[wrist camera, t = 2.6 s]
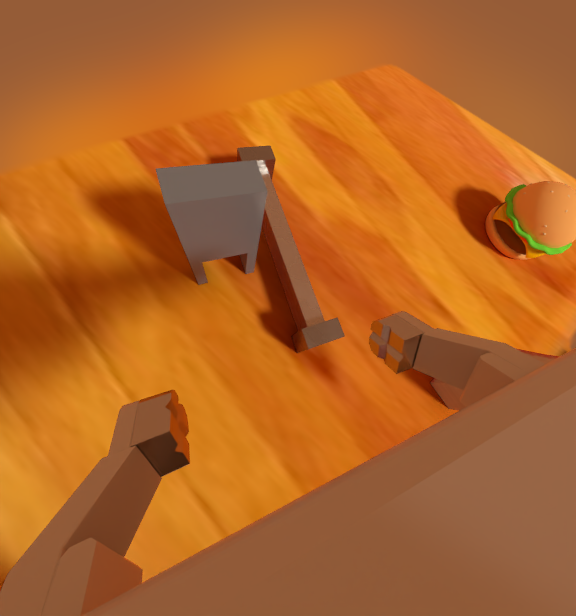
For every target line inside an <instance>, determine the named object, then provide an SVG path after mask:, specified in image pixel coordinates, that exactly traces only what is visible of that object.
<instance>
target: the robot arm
mask: <svg viewBox="0 0 576 616" xmlns="http://www.w3.org/2000/svg"><path fill="white" fill-rule="evenodd" d="M371 330H372V331H373V333H372V334H371V336H370V337H369V345H370V348H371V350H372V351H373V353H374V354H375V355H376V356H377V357H380V358H383V359H384V361H385V364H386V365H387V366H388V367H389V368H390V369H392V370H393V371H394V372H395V373H396V374H398V373H400V372H403V371H405V370H408V369H410V368H413V369H415V370H417V371H419V372H422V373H424V374H426V375H429V376H431V377H433V378H435V379H438V380H440V381H442V382H445V383H447V384H449V385H452V386H454V387H456V388H459V389H461V390H463V393H462V395H461V397H460V402H461V403H462V404H463V405H465V406H466V408H464V409H462V410H460V411H458V412H456V413H455V414H453V415H451V416H449V417H447V418H445V419H444V420H442V421H440V422H438V423H436V424H434V425H432V426H431V427H429V428H427V429H425V430H423V431H421V432H420V433H418V434H416V435H414V436H412V437H410V438H408V439H407V440H405V441H403V442H401V443H399V444H397V445H396V446H394V447H392V448H390V449H388V450H386V451H385V452H383V453H381V454H379V455H377V456H375V457H373V458H372V459H370V460H368V461H366V462H364V463H362V464H361V465H359V466H357V467H355V468H353V469H351V470H349V471H348V472H346V473H344V474H342V475H340V476H338V477H337V478H335V479H333V480H331V481H329V482H327V483H325V484H324V485H322V486H320V487H318V488H316V489H314V490H313V491H311V492H309V493H307V494H305V495H303V496H301V497H300V498H298V499H296V500H294V501H292V502H290V503H289V504H287V505H285V506H283V507H281V508H279V509H277V510H276V511H274V512H272V513H270V514H268V515H266V516H265V517H263V518H261V519H259V520H257V521H255V522H254V523H252V524H250V525H248V526H246V527H244V528H242V529H241V530H239V531H237V532H235V533H233V534H231V535H230V536H228V537H226V538H224V539H222V540H220V541H219V542H217V543H215V544H213V545H211V546H209V547H207V548H206V549H204V550H202V551H200V552H198V553H196V554H195V555H193V556H191V557H189V558H187V559H185V560H183V561H182V562H180V563H178V564H176V565H174V566H172V567H171V568H169V569H167V570H165V571H163V572H161V573H160V574H158V575H156V576H154V577H152V578H150V579H148V580H147V581H145V582H143V583H142V571H143V570H142V569H141V568H140V567H139V566H138V565H136V564H134V563H133V562H131V561H129V560H128V559H126V558H124V556H125V554H126V552H127V550H128V548H129V546H130V544H131V542H132V539H133V537H134V535H135V533H136V531H137V529H138V527H139V525H140V523H141V521H142V519H143V516H144V514H145V512H146V510H147V508H148V506H149V504H150V502H151V500H152V498H153V496H154V494H155V491H156V489H157V487H158V485H159V483H160V481H161V479H162V478H161V477H162V476H164V475H166V474H168V473H171V472H173V471H175V470H177V469H179V468H181V467H184V466H186V465H188V464H190V456H189V443H188V441H187V439H186V435H187V434H188V432H189V428H188V420H187V415H186V412H185V409H184V407H183V405H182V404H179V403H178V395H177V393H176V392H175V390H170V391H167V392H164V393H160V394H157V395H154V396H151V397H148V398H145V399H141V400H140V401H136V402H133V403H130V404H127V405H124V406H122V408H121V409H120V411H119V415H118V419H117V423H116V426H115V430H114V434H113V438H112V442H111V446H110V450H109V454H108V456H107V457H104V458H102V459H101V460H100V461H99V463H98V464H97V465H96V466H95V468H94V469H93V470H92V471H91V472H90V474H89V475H88V476H87V477H86V479H85V480H84V481H83V482H82V483H81V485H80V486H79V487H78V488H77V490H76V491H75V492H74V493H73V495H72V496H71V497H70V498H69V499H68V501H67V502H66V503H65V504H64V506H63V507H62V508H61V509H60V510H59V512H58V513H57V514H56V515H55V517H54V518H53V519H52V520H51V521H50V523H49V524H48V525H47V526H46V528H45V529H44V530H43V531H42V532H41V534H40V535H39V536H38V537H37V539H36V540H35V541H34V542H33V543H32V545H31V546H30V547H29V548H28V550H27V551H26V552H25V553H24V555H23V556H22V557H21V558H20V559H19V561H18V562H17V563H16V564H15V566H14V567H13V568H12V569H11V570H10V572H9V573H8V575H7V577H6V579H5V581H4V584H3V586H2V588H1V591H0V616H576V348H575V349H573V350H571V351H569V352H567V353H565V354H564V355H562V356H560V357H558V358H556V359H554V360H552V361H551V362H549V363H547V364H544V363H542V362H540V361H538V360H536V359H534V358H532V357H531V356H529V355H527V354H525V353H523V352H521V351H519V350H517V349H515V348H513V347H511V346H509V345H507V344H506V343H501V342H497V341H492V340H488V339H483V338H479V337H474V336H470V335H465V334H460V333H456V332H451V331H447V330H442V329H438V328H437V329H433V328H432V327H430V326H428V325H427V324H425V323H423V322H422V321H420V320H418V319H417V318H415V317H413V316H412V315H410V314H408V313H407V312H404V311H401V312H398V313H395V314H392V315H390V316H387V317H384V318H381V319H378V320H375V321H373V322H372V324H371Z"/></svg>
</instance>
